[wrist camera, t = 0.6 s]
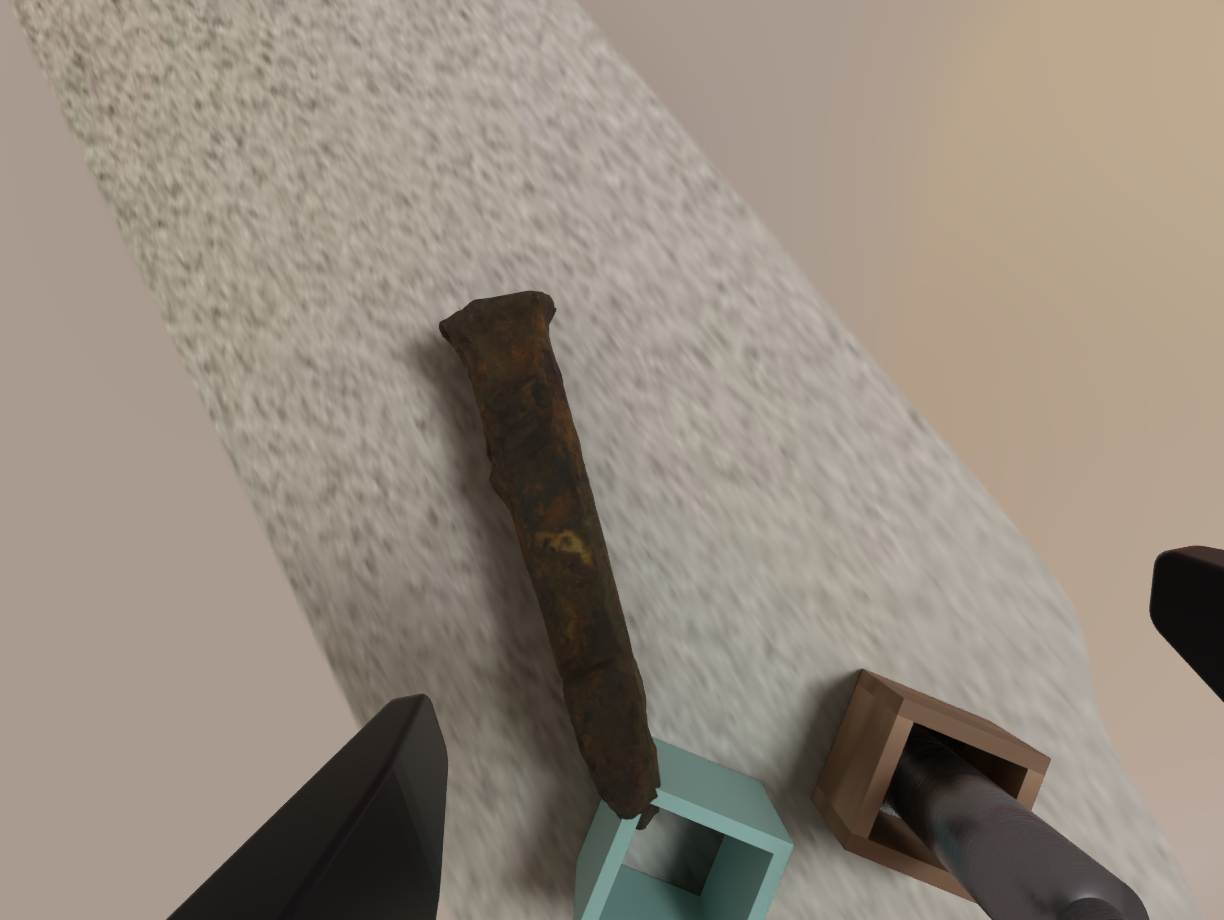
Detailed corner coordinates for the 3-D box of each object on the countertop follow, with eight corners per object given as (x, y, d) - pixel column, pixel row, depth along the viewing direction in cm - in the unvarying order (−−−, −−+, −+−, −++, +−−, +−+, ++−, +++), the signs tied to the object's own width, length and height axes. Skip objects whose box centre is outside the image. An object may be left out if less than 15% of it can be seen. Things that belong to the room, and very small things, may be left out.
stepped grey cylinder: (922, 810, 26) (1246, 1143, 13) (850, 781, 26) (1104, 1085, 13) (950, 738, 26) (1300, 996, 13) (879, 709, 26) (1159, 938, 13)
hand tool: (453, 329, 26) (421, 298, 21) (554, 306, 26) (544, 269, 21) (569, 811, 26) (562, 886, 21) (671, 786, 26) (686, 854, 21)
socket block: (939, 851, 26) (992, 910, 23) (811, 799, 26) (844, 849, 22) (990, 721, 26) (1051, 759, 23) (863, 668, 26) (903, 698, 23)
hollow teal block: (707, 913, 26) (730, 1005, 21) (576, 860, 26) (572, 941, 21) (759, 781, 26) (794, 845, 21) (630, 728, 26) (637, 781, 21)
